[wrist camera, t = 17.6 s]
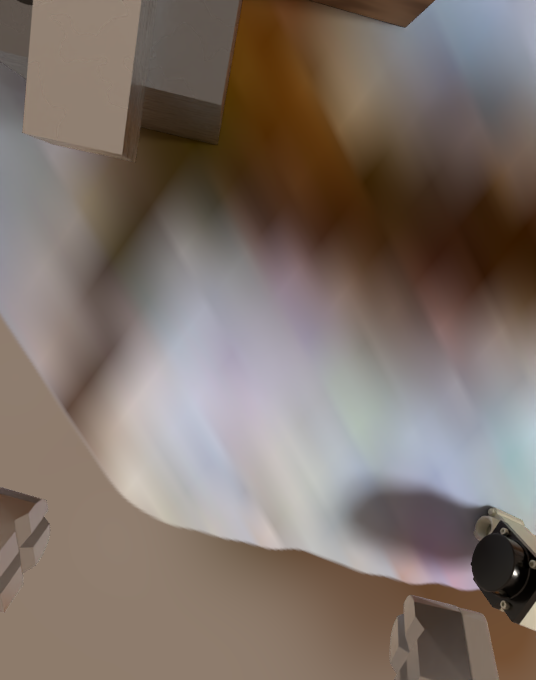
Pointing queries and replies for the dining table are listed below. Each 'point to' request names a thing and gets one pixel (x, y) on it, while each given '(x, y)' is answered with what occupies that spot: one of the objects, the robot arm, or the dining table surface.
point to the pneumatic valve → (506, 565)
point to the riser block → (162, 62)
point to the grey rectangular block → (89, 74)
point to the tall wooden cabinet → (383, 9)
